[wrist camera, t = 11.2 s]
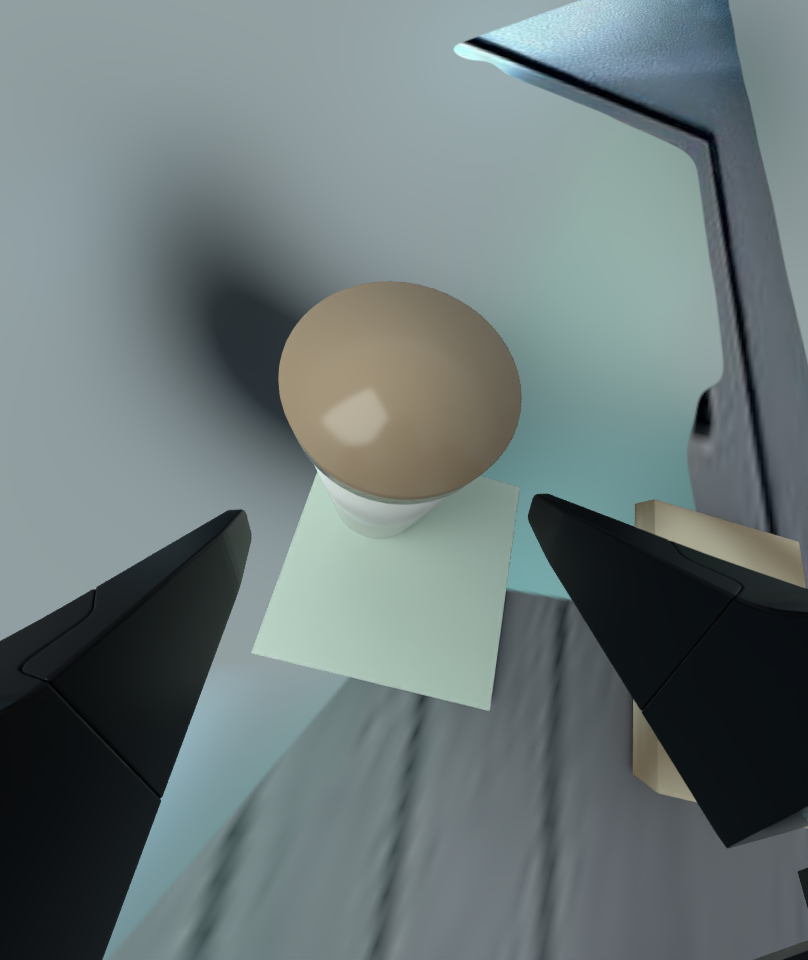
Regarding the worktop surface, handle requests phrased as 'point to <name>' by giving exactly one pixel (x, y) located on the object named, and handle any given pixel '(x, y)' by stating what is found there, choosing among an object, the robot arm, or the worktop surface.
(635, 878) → the worktop surface
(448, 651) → the mat
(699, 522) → the board
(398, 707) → the worktop surface
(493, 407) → the jar
